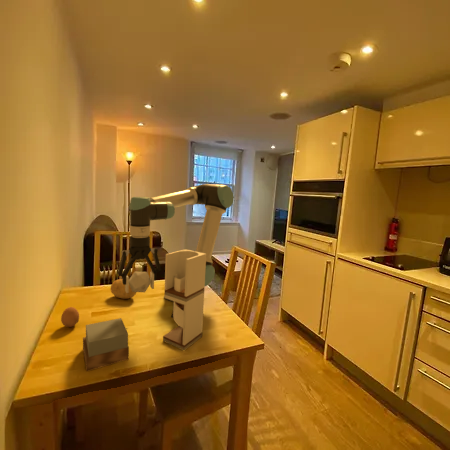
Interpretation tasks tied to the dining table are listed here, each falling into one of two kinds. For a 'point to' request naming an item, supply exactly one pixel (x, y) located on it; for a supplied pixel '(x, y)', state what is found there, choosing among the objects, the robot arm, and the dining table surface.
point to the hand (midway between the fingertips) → (139, 289)
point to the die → (139, 281)
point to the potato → (121, 290)
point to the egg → (70, 317)
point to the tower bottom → (104, 357)
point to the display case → (185, 295)
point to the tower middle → (106, 337)
